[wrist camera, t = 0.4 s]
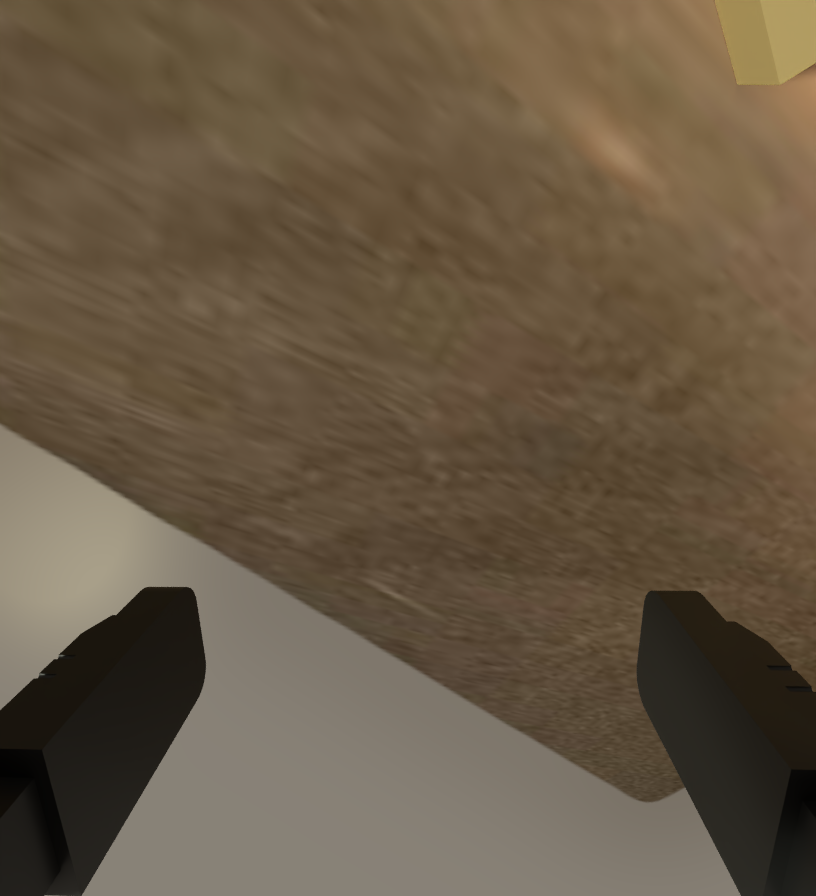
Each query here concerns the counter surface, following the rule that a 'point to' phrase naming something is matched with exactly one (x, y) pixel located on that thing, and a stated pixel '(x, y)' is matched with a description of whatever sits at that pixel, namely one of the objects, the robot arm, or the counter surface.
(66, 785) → the robot arm
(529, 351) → the counter surface
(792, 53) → the yellow t-shaped block
